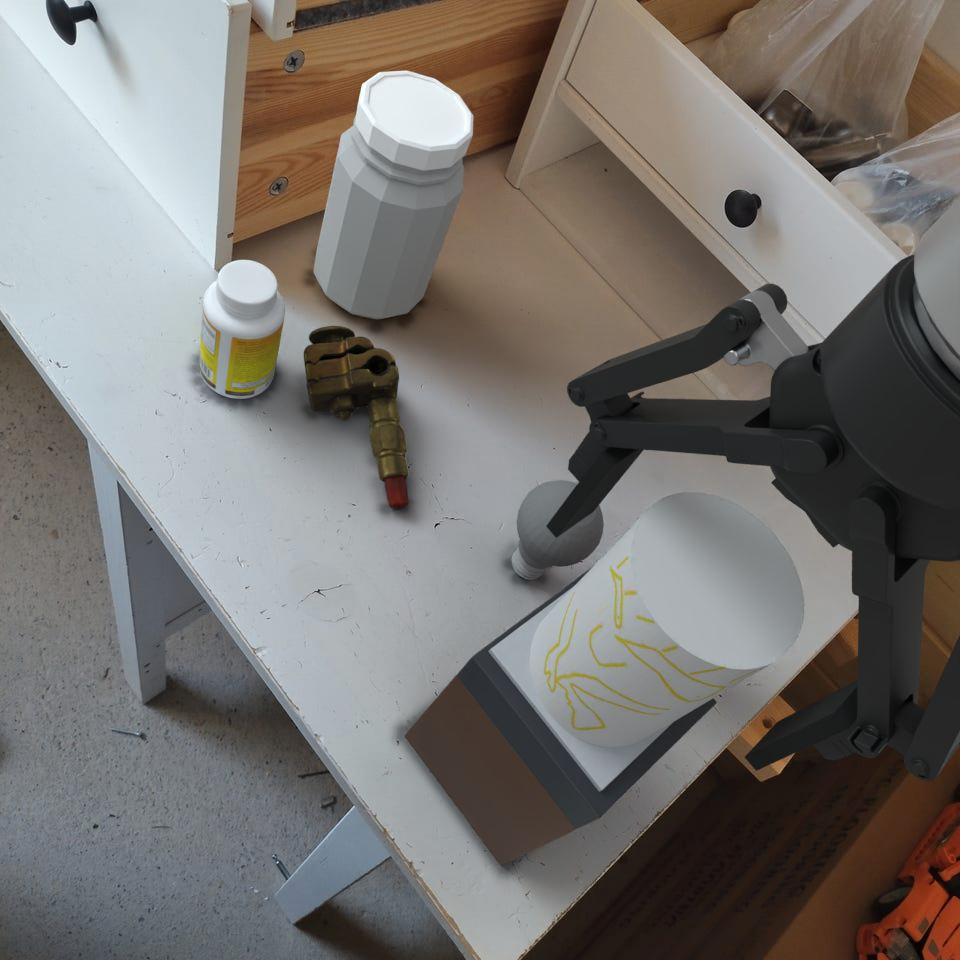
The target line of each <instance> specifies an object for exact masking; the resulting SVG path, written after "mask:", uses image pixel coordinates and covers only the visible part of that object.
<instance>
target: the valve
mask: <svg viewBox="0 0 960 960" xmlns="http://www.w3.org/2000/svg"><path fill="white" fill-rule="evenodd" d="M308 340H309V342H310V343H311V344H308V345H307V346H306V347H305V348H304V350H303V361H304V362H303V363H304V370H305V377H306V389H307V395H308V401H309V404H310V409H311V410H312V411H314V412H317V411H318V412H319V411H323V410H329V411H330V413H331V414H332V415H333V416H335V417H338V419H339V420H340V421H348V420H350V418H351V417H352V414H353V413H355V412H357V410H358V409H359V408H367V413H368V417H369V418H368V419H369V426H370V427H371V428H370V432H369V441H370V444H371V445H370V446H371V451H372V455H373V457H375V460H376V465H377V471H378V477H379V479H380V481H381V482H382V483H384V488H385V495H386V500H387V502H388V506H389V508H390V509H392V510H400V509H403V508H406V507H408V506H409V504H410V501H409V492H408V484H407V479H408V477H409V469H408V461H407V458H406V454H407V452H408V445H407V439H406V433H405V430H404V428H403V427H402V425H401V419H400V413H399V412H400V411H399V407H398V401H397V398H398V390H399V382H400V373H399V367H398V366H397V365H396V359H395V357H394V355H392V354H391V352H389V351H388V350H386V349H383V348H378V347H375V346H374V344H373V342H372V341H371V340H370V339H369V338H368V337H365V336H356V333H355V331H353V330H352V329H351V328H348V327H345V326H341V325H328V326H327V325H326V326H322V327H319V328H316V329H314V330H312V331H311V332H310V333H309V335H308Z"/></svg>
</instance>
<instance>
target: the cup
mask: <svg viewBox="0 0 960 960" xmlns="http://www.w3.org/2000/svg"><path fill="white" fill-rule="evenodd" d="M591 567H592V568H591ZM591 567H590V568H591V569H590V568H589V569H590V570H589V569H588V570H589V571H588V572H587V573H586V574H585V575H584V577H583V578H582V579H581V580H580V581H579V582H578V583H577V584H576V585H575V586H574V587H573V588H572V589H571V590H570V591H569V592H568V593H567V594H566V595H565V596H564V598H563V599H562V600H561V601H560V602H559V603H558V604H557V605H556V606H555V607H554V608H553V609H552V610H551V611H550V612H549V613H548V614H547V615H546V616H545V618H544V619H543V620H542V621H541V623H540V624H539V626H538V627H537V629H536V631H535V634H534V636H533V639H532V643H531V648H530V672H531V677H532V681H533V684H534V687H535V690H536V692H537V695H538V697H539V699H540V701H541V703H542V704H543V706H544V707H545V709H546V710H547V712H548V713H549V714H550V716H551V717H552V718H553V719H554V720H555V721H556V722H557V723H558V724H559V725H560V726H561V727H562V728H563V729H565V730H566V731H567V732H569V733H570V734H572V735H573V736H575V737H576V738H578V739H580V740H582V741H585V742H587V743H590V744H593V745H596V746H601V747H609V748H618V747H625V746H630V745H633V744H636V743H638V742H640V741H642V740H644V739H645V738H647V737H649V736H650V735H652V734H654V733H656V732H657V731H659V730H661V729H662V728H664V727H666V726H667V725H669V724H671V723H672V722H674V721H676V720H677V719H679V718H681V717H682V716H684V715H686V714H688V713H689V712H691V711H693V710H694V709H696V708H698V707H699V706H701V705H703V704H704V703H706V702H708V701H709V700H711V699H713V698H716V697H718V696H720V695H721V694H723V693H725V692H726V691H728V690H730V689H731V688H733V687H735V686H736V685H739V684H740V683H742V682H743V681H745V680H747V679H748V678H750V677H752V676H753V675H755V674H757V673H758V672H760V671H761V670H763V669H765V668H767V667H769V666H770V665H772V664H774V663H775V662H777V661H778V660H780V659H781V658H783V657H784V656H785V655H786V654H788V652H789V651H790V650H791V649H792V647H793V646H794V644H796V642H797V640H798V638H799V635H800V633H801V631H802V627H803V624H804V623H803V622H804V618H805V597H804V595H805V594H804V590H803V585H802V582H801V578H800V575H799V572H798V570H797V569H798V568H797V567H796V565H795V562H794V561H793V559H792V557H791V555H790V553H789V552H788V550H787V549H786V547H785V545H784V544H783V543H782V541H781V540H780V539H779V538H778V536H777V535H776V534H775V533H774V532H773V530H772V529H771V528H770V527H769V526H768V525H767V524H766V523H765V522H764V521H762V520H761V519H760V518H759V517H757V515H755V514H753V513H752V512H751V511H749V510H748V509H747V508H745V507H744V506H742V505H740V504H738V503H736V502H735V501H732V500H730V499H728V498H725V497H722V496H719V495H716V494H713V493H708V492H701V491H682V492H677V493H672V494H670V495H669V494H668V495H667V496H665V497H662V498H661V499H659V500H657V501H656V502H654V503H653V504H651V506H649V507H648V508H647V509H646V510H645V511H644V512H643V513H642V514H641V516H640V517H639V518H637V520H635V522H633V524H632V525H631V526H630V527H629V528H628V529H627V530H626V531H625V532H624V533H623V534H622V536H620V538H619V539H617V540H616V542H615V543H614V544H613V545H612V546H611V547H610V548H609V549H608V550H607V551H606V552H605V553H604V554H603V555H602V557H601V558H599V559H598V561H596V563H594V565H593V566H591Z"/></svg>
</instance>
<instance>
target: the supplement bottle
mask: <svg viewBox="0 0 960 960" xmlns="http://www.w3.org/2000/svg"><path fill="white" fill-rule="evenodd" d="M278 287H279V285H278V279H277V277H276V275H275V274H274V273H273V271H272V270H271V269H269V268H268V267H267V266H266V265H264V264H262V263H260V262H258V261H255V260H250V259H236V260H233V261H231V262H230V261H229V262H228V263H226V264H224V266H222V267H221V268H220V270H219V272H218V275H217V279H216V280H214V281H213V282H212V283H210V285H209V286H208V288H207V289H206V291H205V293H204V294H203V295H204V296H203V301H202V312H201V313H202V314H201V329H200V330H201V331H200V345H199V347H200V348H199V359H198V360H199V361H198V365H199V366H198V367H199V373H200V376H201V378H202V380H203V381H204V383H205V384H206V385H207V386H208V387H209V389H211V390H212V391H214V392H215V393H216V394H219V395H220V396H223V397H226V398H229V399H238V400H240V399H241V400H243V399H251V398H253V397H257V396H258V395H260V394H262V393H264V392H265V391H266V390H267V389H268V388H269V387H270V385H271V384H272V381H273V379H274V377H275V372H276V366H277V360H278V356H279V350H280V344H281V339H282V333H283V328H284V321H285V316H286V305H285V301H284V298H283V296H282V294H281V293H280V292H279V290H278Z"/></svg>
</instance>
